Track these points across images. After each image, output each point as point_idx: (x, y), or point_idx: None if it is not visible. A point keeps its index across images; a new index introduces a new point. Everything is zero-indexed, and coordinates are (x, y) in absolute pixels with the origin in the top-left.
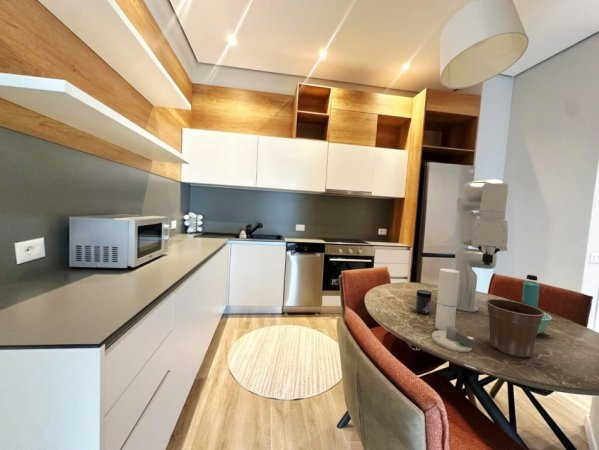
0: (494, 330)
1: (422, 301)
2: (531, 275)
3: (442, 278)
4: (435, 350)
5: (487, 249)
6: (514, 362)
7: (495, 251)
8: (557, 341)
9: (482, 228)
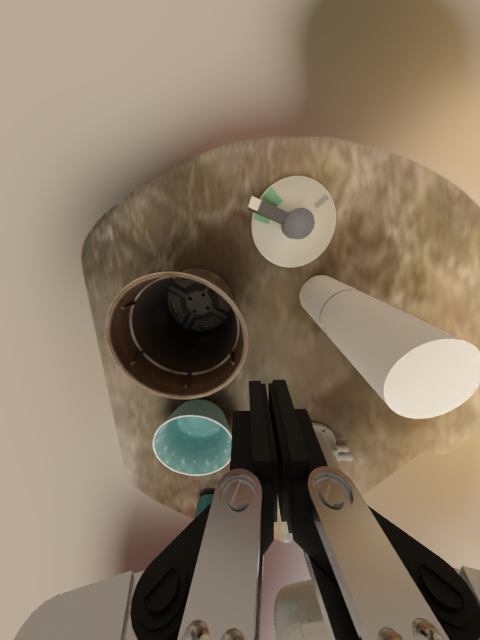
0: (219, 282)
1: None
2: None
3: (430, 324)
4: (311, 139)
5: None
6: (181, 242)
7: (196, 549)
8: (153, 406)
9: None
